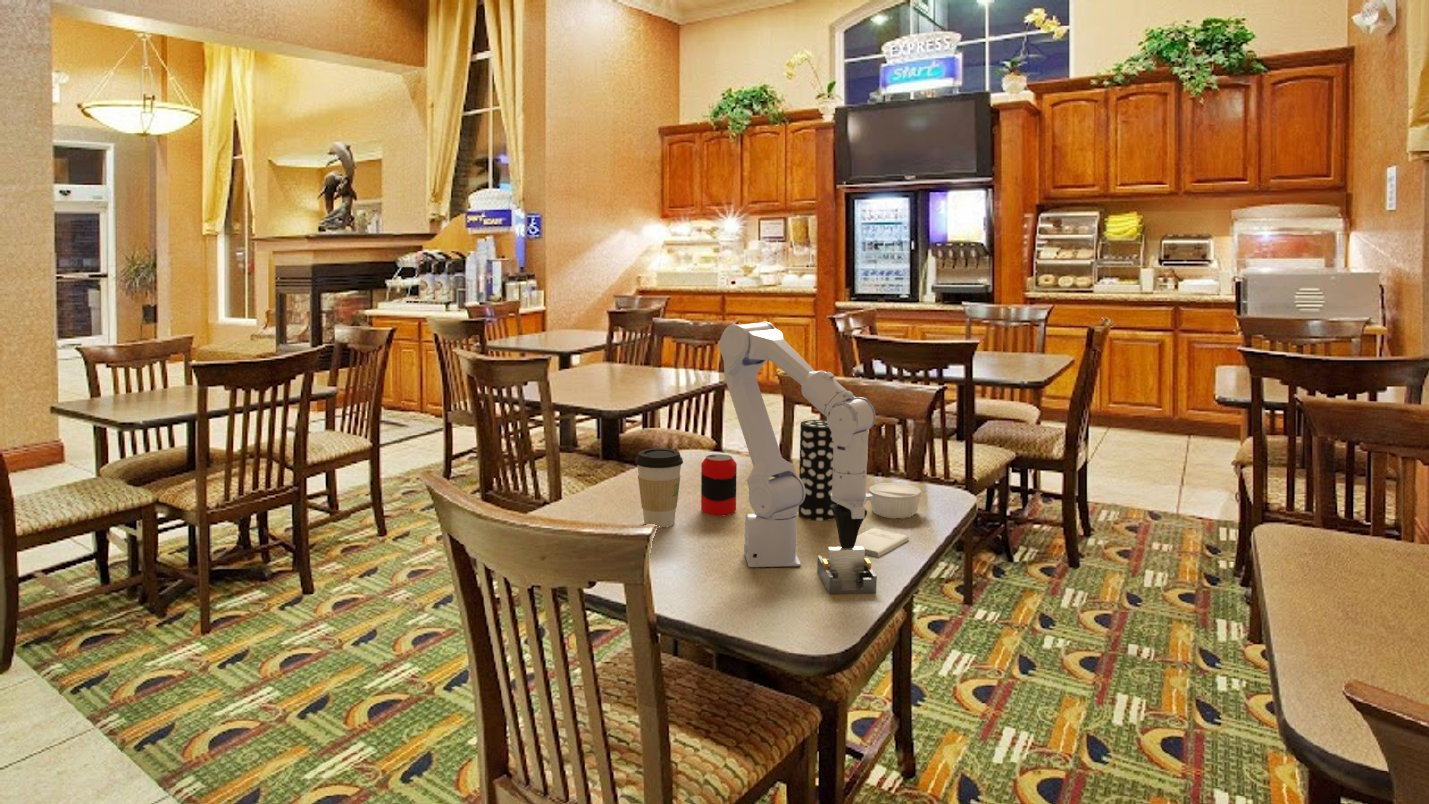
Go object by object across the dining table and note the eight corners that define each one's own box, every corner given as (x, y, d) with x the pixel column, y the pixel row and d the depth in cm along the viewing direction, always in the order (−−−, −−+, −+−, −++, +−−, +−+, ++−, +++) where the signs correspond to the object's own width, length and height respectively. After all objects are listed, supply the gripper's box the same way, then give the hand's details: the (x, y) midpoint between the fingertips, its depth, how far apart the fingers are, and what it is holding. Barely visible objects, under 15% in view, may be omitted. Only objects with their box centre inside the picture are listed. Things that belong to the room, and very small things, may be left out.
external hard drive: (840, 551, 175) (871, 534, 185) (878, 560, 170) (908, 542, 180) (840, 542, 175) (872, 526, 185) (878, 552, 170) (908, 535, 180)
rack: (829, 594, 152) (829, 572, 152) (817, 571, 163) (817, 551, 162) (876, 592, 153) (877, 571, 152) (861, 570, 163) (862, 550, 163)
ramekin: (879, 522, 192) (880, 497, 191) (860, 506, 202) (861, 483, 201) (929, 519, 194) (930, 495, 193) (907, 504, 205) (908, 481, 204)
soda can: (714, 504, 203) (714, 451, 201) (742, 510, 199) (743, 456, 197) (694, 512, 197) (694, 458, 195) (723, 518, 193) (723, 463, 191)
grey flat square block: (829, 580, 157) (830, 550, 156) (827, 577, 158) (828, 547, 157) (863, 580, 157) (864, 549, 156) (861, 576, 159) (862, 546, 158)
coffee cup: (692, 521, 191) (692, 451, 188) (664, 534, 182) (664, 461, 180) (654, 513, 196) (654, 445, 193) (625, 525, 188) (625, 454, 185)
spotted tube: (839, 521, 192) (842, 428, 188) (799, 520, 192) (802, 427, 188) (834, 509, 200) (837, 420, 196) (796, 509, 200) (798, 419, 196)
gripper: (884, 480, 147) (880, 561, 150) (862, 459, 162) (860, 532, 164) (841, 481, 147) (838, 562, 149) (823, 460, 161) (821, 533, 164)
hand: (847, 546), depth 157 cm, fingers closed
